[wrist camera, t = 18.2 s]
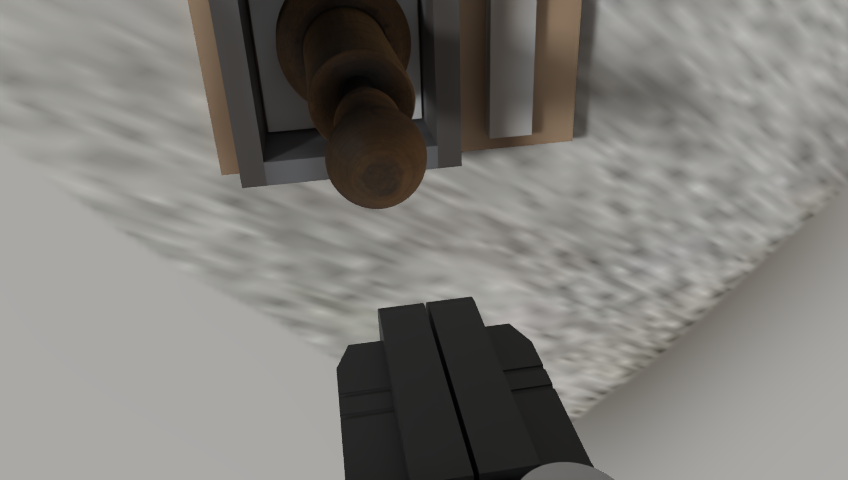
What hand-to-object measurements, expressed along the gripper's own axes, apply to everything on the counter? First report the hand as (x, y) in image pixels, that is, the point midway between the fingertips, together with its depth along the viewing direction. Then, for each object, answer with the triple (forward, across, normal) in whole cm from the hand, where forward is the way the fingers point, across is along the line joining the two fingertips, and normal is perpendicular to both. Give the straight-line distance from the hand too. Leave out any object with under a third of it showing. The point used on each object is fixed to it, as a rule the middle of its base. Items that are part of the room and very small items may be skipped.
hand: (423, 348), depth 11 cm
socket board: (+29, -3, +1) cm, 29 cm away
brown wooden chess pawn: (+27, 0, +1) cm, 27 cm away
